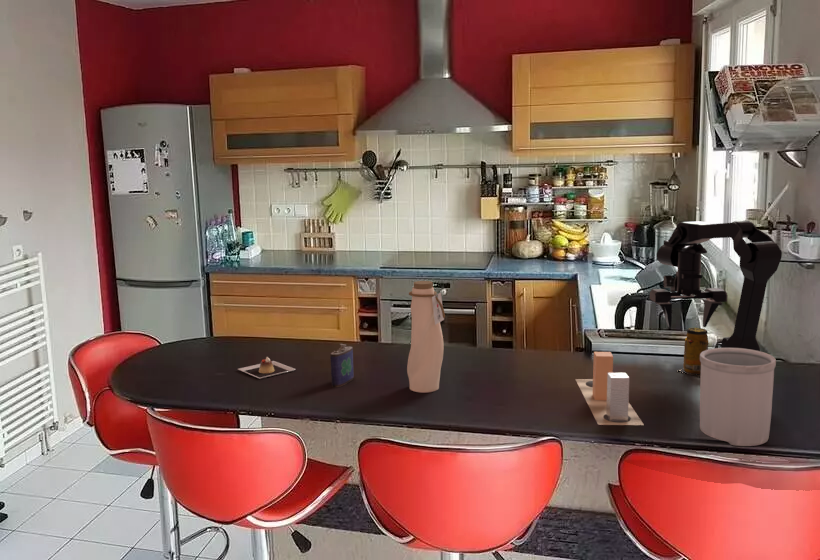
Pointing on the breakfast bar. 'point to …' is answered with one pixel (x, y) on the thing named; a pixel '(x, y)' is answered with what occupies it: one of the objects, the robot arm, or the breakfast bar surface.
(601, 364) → the marker post
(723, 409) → the utensil holder
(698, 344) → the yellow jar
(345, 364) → the flask
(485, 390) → the breakfast bar surface
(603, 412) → the template board
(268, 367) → the dessert
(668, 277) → the robot arm
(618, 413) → the fixed post
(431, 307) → the water bottle
